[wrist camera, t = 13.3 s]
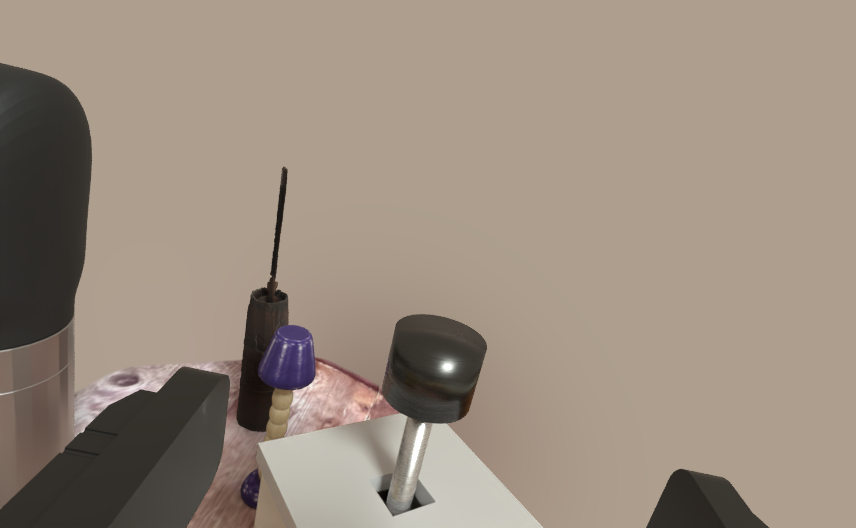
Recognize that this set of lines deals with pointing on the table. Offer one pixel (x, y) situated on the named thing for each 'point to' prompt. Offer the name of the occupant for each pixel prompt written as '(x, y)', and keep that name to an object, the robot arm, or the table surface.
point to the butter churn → (262, 338)
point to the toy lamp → (282, 387)
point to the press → (378, 481)
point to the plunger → (427, 389)
